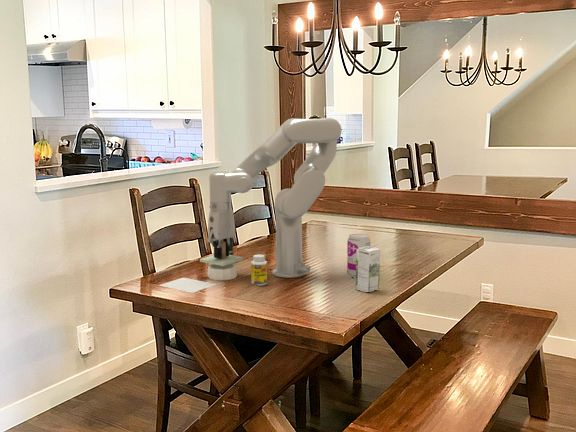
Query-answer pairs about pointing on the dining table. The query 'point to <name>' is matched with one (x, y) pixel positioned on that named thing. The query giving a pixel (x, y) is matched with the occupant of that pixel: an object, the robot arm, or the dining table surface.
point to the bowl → (222, 271)
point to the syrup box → (367, 268)
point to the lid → (224, 259)
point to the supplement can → (352, 246)
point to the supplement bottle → (259, 270)
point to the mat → (187, 285)
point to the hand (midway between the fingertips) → (221, 256)
